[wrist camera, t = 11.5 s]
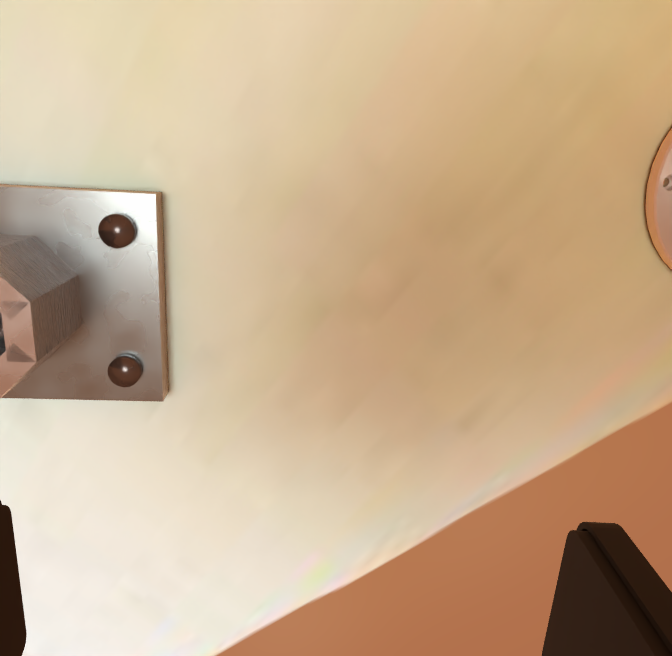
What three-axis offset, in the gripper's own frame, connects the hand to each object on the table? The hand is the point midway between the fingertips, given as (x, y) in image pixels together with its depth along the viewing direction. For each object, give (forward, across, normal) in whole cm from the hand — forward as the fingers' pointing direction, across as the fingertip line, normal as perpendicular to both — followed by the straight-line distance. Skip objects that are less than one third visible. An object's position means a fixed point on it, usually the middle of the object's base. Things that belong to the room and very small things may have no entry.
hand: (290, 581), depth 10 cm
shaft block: (+25, +17, +2) cm, 30 cm away
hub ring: (+23, +17, +2) cm, 29 cm away
